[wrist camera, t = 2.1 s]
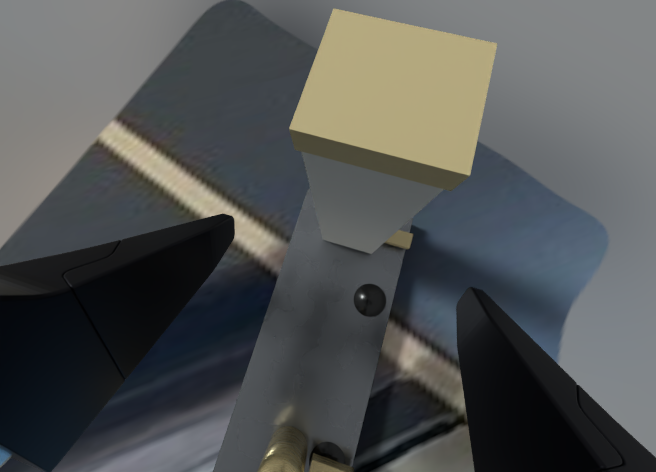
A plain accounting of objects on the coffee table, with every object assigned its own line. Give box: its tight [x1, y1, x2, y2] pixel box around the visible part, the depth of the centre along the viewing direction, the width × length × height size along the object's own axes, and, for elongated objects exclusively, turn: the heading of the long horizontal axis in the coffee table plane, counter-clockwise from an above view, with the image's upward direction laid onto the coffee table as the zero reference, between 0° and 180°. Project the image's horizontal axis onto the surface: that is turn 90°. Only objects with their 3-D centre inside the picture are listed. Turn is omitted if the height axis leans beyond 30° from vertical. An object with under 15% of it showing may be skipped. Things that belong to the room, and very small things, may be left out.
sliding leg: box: [289, 9, 497, 254], centre depth 11 cm, size 3×6×13 cm, turn 73°
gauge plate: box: [213, 189, 413, 472], centre depth 15 cm, size 21×8×6 cm, turn 163°
